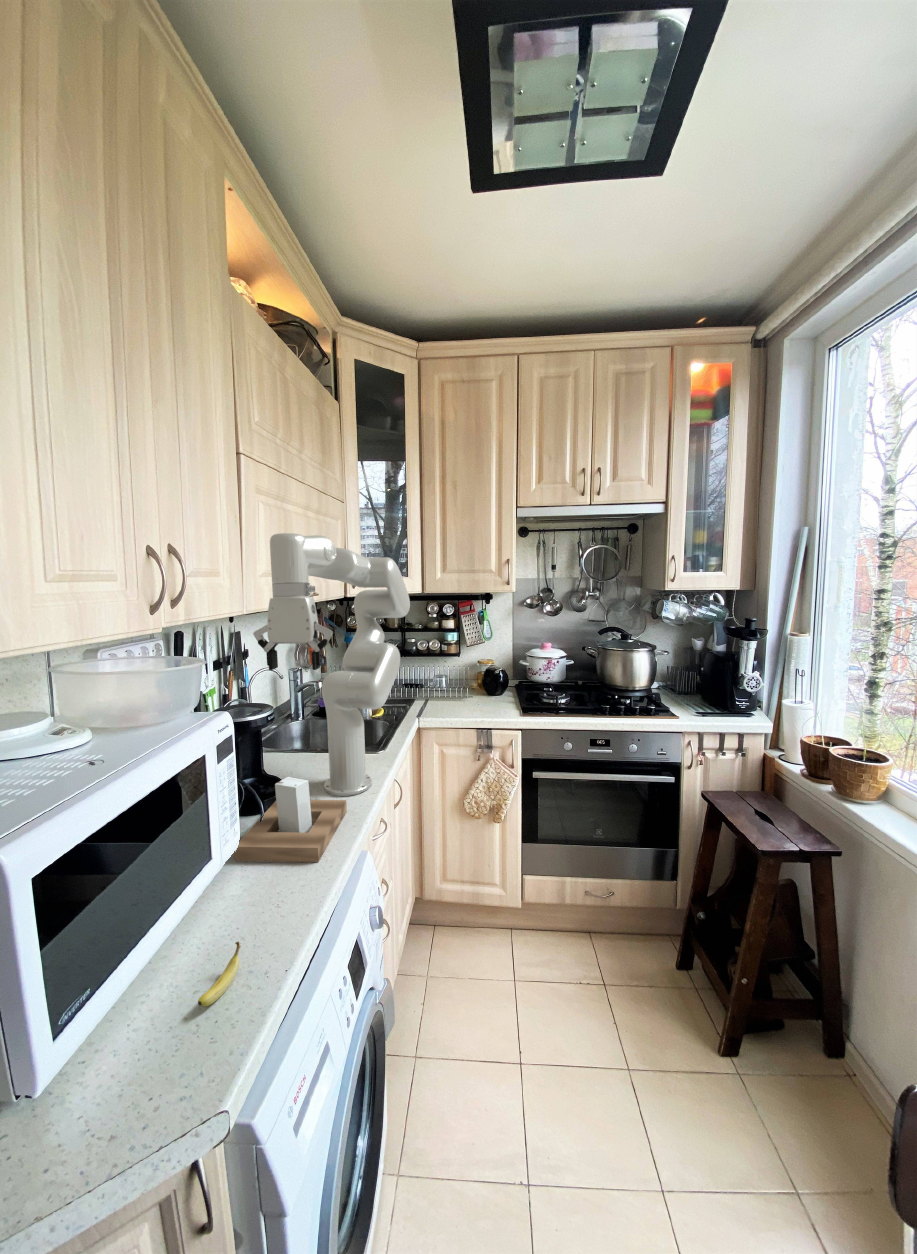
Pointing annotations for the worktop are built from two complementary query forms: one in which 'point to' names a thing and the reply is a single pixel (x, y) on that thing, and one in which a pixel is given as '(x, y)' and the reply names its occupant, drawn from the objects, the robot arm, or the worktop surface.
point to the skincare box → (293, 805)
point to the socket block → (292, 835)
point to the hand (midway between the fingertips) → (294, 668)
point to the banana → (222, 981)
